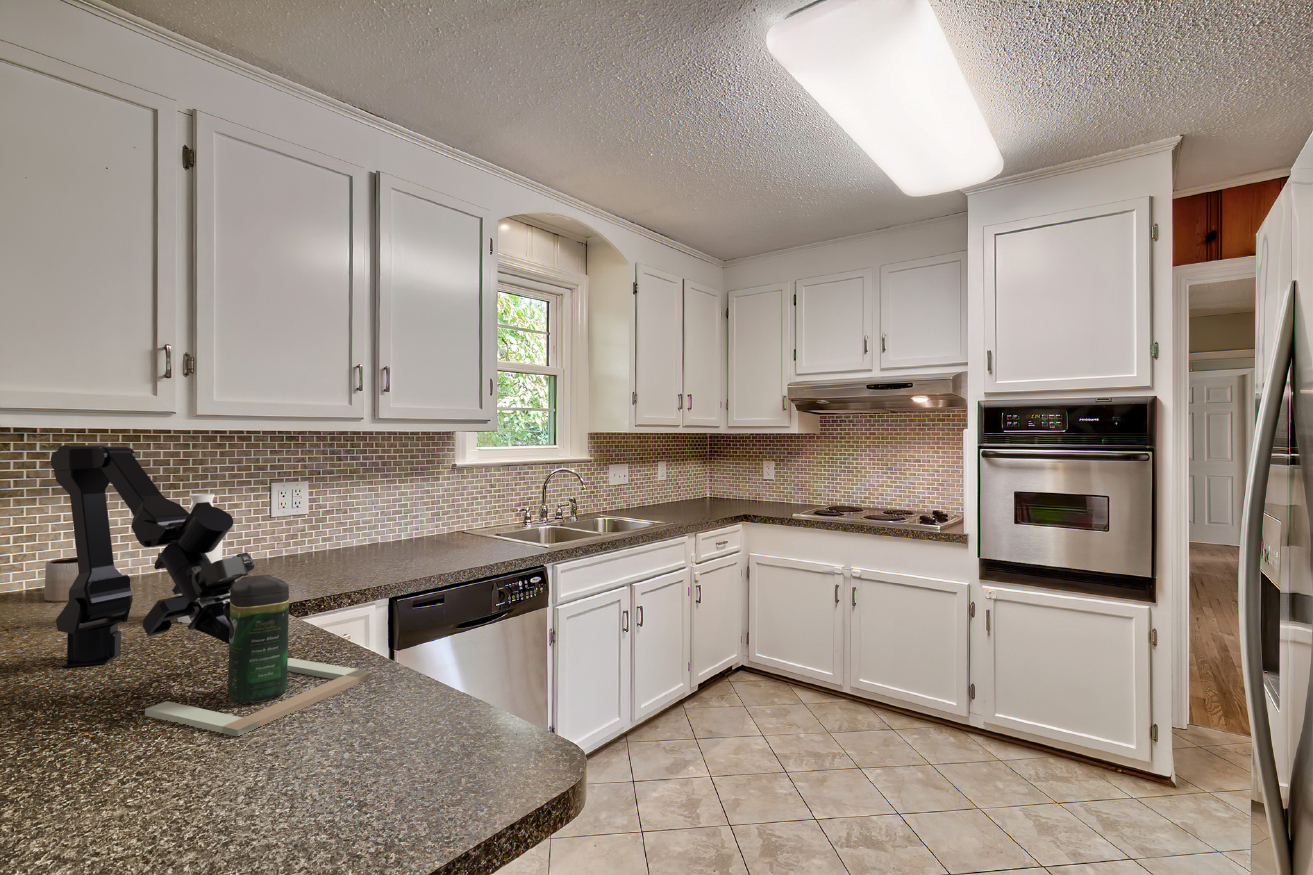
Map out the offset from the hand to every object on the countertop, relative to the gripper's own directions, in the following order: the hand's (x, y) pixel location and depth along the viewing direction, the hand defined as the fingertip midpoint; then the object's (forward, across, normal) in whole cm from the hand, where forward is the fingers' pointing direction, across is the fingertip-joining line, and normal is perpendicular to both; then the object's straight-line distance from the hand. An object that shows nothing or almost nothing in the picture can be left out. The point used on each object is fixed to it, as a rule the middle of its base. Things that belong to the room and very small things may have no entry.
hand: (238, 644), depth 104 cm
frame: (+10, 0, 0) cm, 10 cm away
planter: (-62, +28, +73) cm, 100 cm away
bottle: (-28, +26, +39) cm, 55 cm away
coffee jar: (+8, 0, +2) cm, 9 cm away
